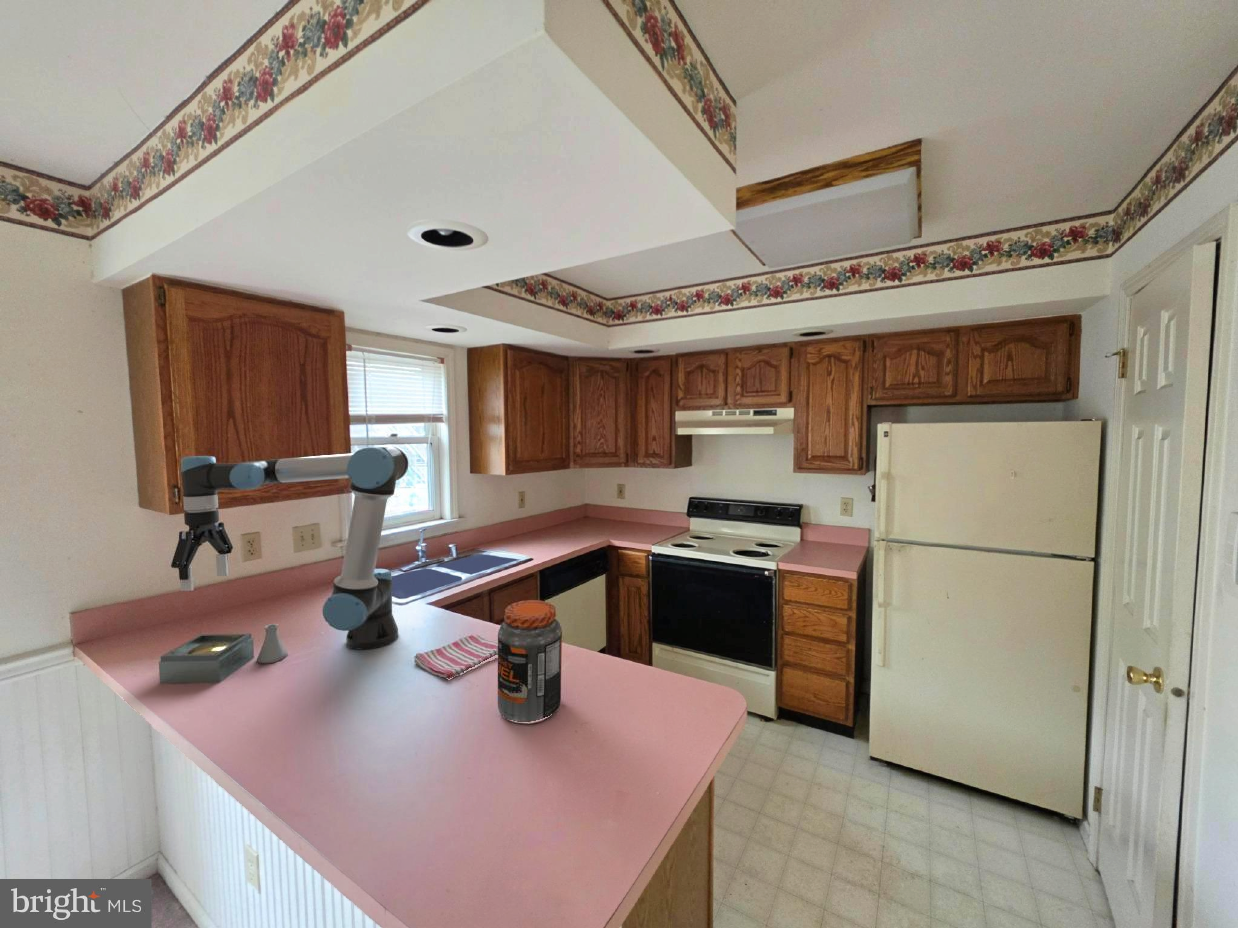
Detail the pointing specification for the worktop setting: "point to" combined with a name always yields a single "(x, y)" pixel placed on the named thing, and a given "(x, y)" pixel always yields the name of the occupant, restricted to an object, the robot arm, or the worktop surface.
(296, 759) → the worktop surface
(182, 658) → the grey boxy piece
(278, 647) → the flask
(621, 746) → the worktop surface
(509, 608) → the supplement tub
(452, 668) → the dish towel
